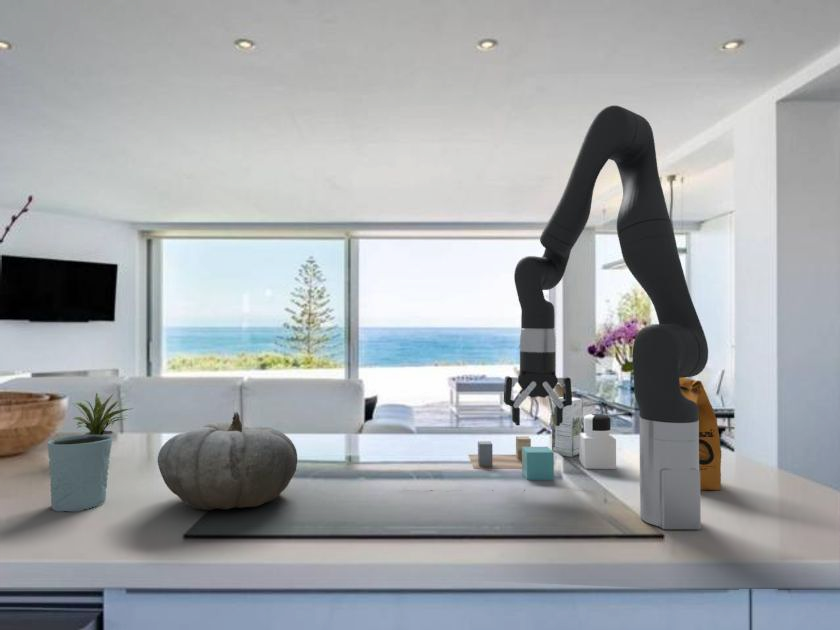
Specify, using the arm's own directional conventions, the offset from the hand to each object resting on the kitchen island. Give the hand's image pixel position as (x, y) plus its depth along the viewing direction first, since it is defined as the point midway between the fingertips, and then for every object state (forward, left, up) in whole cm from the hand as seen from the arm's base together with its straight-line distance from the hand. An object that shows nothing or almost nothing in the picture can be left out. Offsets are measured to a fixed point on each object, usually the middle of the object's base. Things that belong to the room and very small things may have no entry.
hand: (537, 425), depth 120 cm
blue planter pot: (-16, +88, -12) cm, 90 cm away
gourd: (-14, +61, -12) cm, 64 cm away
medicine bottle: (+13, -17, -12) cm, 24 cm away
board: (+13, +5, -12) cm, 18 cm away
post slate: (+10, +10, -11) cm, 18 cm away
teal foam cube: (0, 0, -12) cm, 12 cm away
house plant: (+19, +105, -12) cm, 107 cm away
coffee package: (-2, -32, -12) cm, 34 cm away
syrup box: (+25, -13, -12) cm, 30 cm away
